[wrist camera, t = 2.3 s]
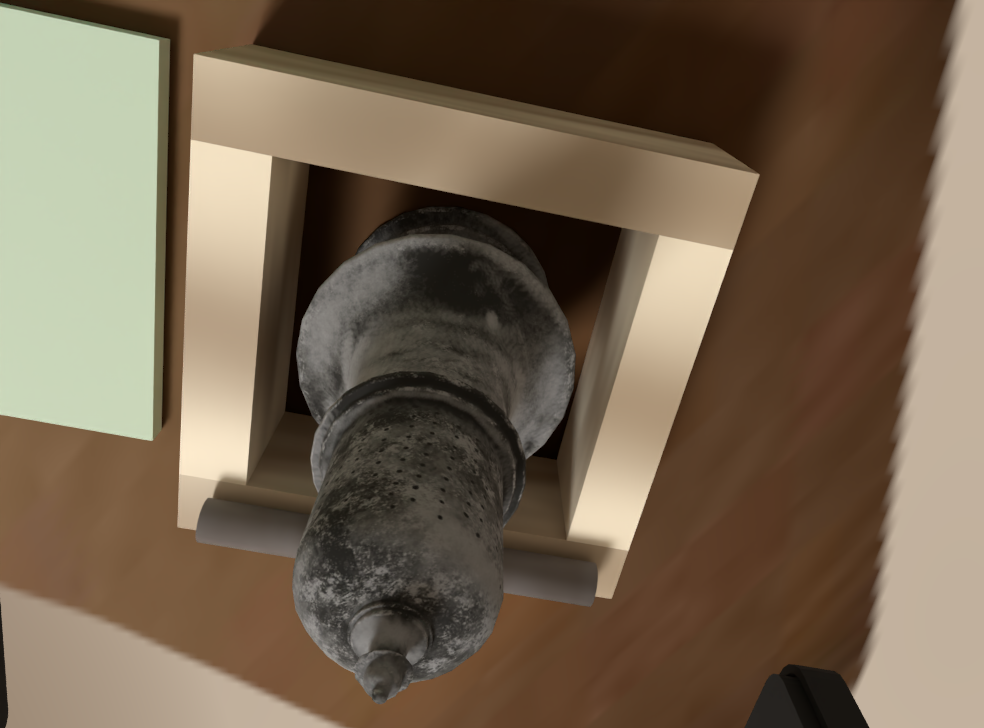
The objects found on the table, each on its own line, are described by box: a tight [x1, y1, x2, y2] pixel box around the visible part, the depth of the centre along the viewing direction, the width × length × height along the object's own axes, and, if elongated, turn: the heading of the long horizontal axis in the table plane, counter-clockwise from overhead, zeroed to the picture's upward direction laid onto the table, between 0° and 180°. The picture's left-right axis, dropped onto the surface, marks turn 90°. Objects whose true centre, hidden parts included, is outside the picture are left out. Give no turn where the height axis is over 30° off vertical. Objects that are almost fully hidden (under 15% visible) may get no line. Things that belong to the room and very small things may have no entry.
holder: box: [178, 44, 760, 607], centre depth 17 cm, size 10×10×4 cm
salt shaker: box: [292, 207, 576, 704], centre depth 14 cm, size 6×6×12 cm
